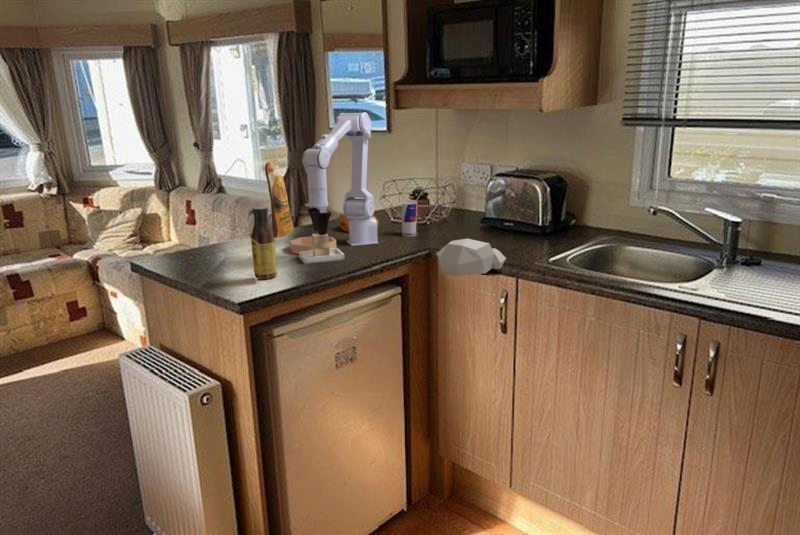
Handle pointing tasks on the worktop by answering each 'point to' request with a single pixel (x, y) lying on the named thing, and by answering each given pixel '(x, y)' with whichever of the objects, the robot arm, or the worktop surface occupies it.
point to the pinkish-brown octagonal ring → (307, 244)
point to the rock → (469, 257)
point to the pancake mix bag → (278, 200)
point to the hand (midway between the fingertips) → (320, 232)
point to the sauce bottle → (263, 245)
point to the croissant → (345, 223)
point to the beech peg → (320, 245)
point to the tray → (309, 258)
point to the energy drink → (409, 219)
